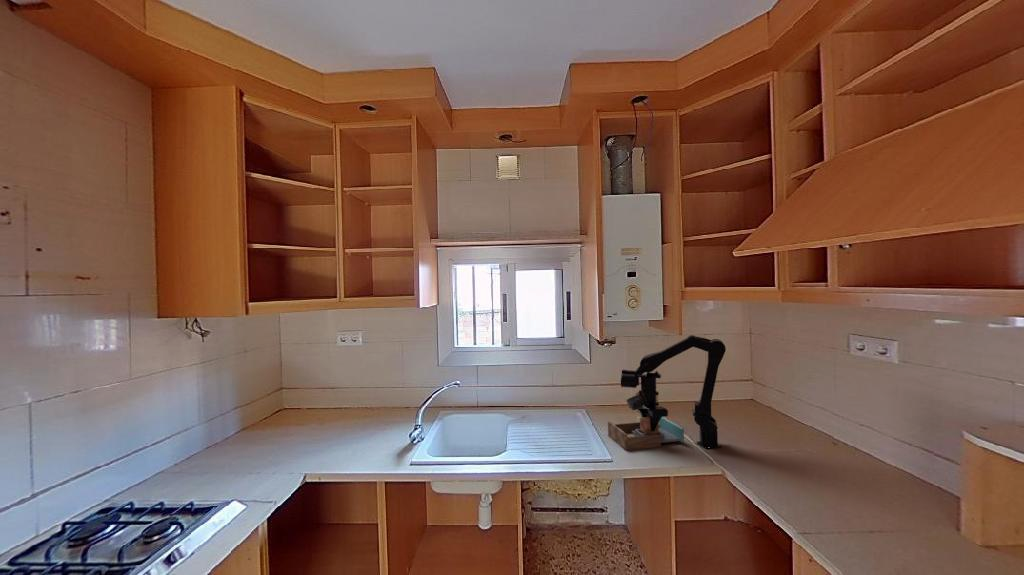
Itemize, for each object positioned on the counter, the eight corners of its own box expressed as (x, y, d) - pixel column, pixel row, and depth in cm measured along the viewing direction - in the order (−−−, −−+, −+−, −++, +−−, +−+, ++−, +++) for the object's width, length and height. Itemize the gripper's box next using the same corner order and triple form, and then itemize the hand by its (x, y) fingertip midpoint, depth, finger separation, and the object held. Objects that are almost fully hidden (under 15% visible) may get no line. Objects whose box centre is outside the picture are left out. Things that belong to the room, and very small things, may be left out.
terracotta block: (658, 433, 177) (658, 420, 177) (646, 434, 176) (646, 421, 176) (652, 429, 182) (651, 416, 182) (640, 430, 181) (640, 417, 181)
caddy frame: (661, 446, 171) (661, 431, 171) (625, 450, 168) (625, 434, 168) (641, 432, 187) (641, 418, 187) (608, 436, 184) (607, 421, 184)
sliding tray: (684, 441, 173) (683, 428, 173) (648, 445, 170) (648, 431, 170) (662, 428, 189) (662, 416, 188) (629, 431, 186) (629, 419, 186)
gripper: (619, 384, 186) (619, 423, 186) (640, 395, 168) (641, 438, 168) (644, 382, 188) (645, 421, 189) (668, 393, 170) (669, 436, 170)
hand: (649, 428), depth 179 cm, fingers closed on terracotta block, 5 cm apart
